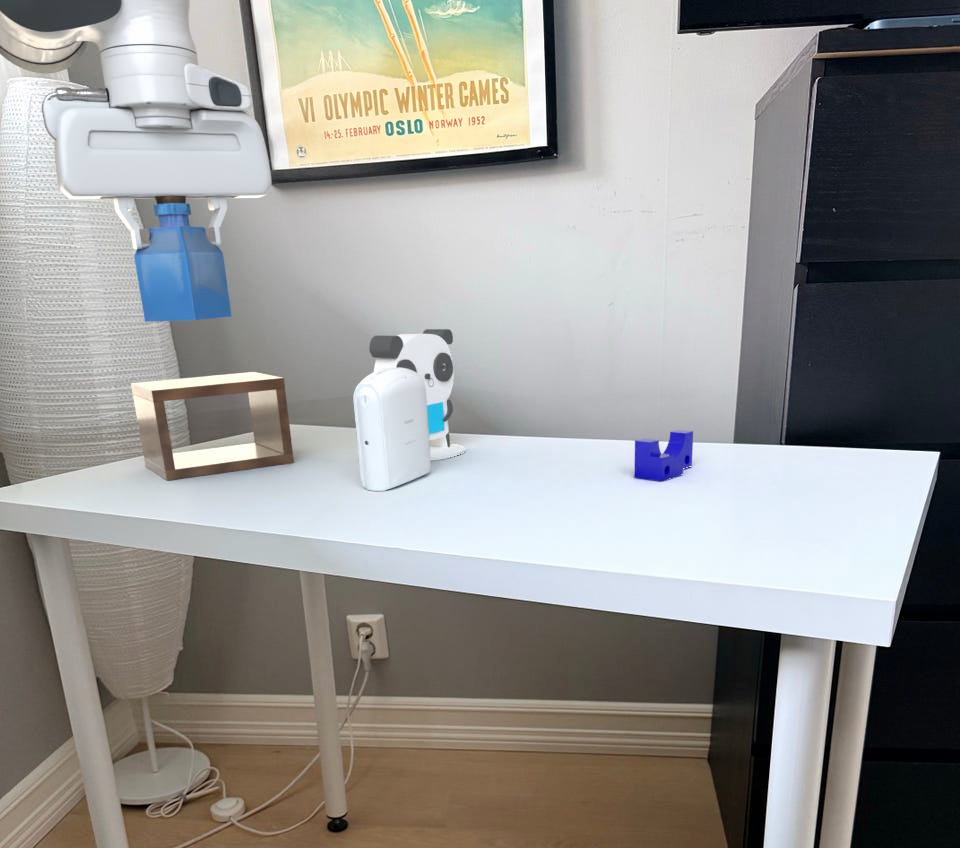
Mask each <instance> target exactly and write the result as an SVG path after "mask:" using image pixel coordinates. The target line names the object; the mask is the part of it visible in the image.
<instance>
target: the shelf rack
mask: <svg viewBox="0 0 960 848" xmlns="http://www.w3.org/2000/svg"><path fill="white" fill-rule="evenodd" d="M130 387H131V394H132V398H133V403H134V404H133V405H134V410H135V414H136V415H135V416H136V421H137V426H138V432H139V437H140V443H141V449H142V454H143V460H144V466H145V468H148V469H149V470H150V471H152V472H154V473H155V474H156V475H158V476H159V477H161V478H162V479H163V480H165V481H167V482H168V481H177V480H182V479H188V478H189V479H190V478H197V477H204V476H209V475H217V474H224V473H225V474H226V473H232V472H238V471H239V472H240V471H246V470H253V469H260V468H266V467H273V466H279V465H288V464H294V463H295V460H294V451H293V443H292V435H291V434H292V433H291V426H290V425H291V424H290V419H289V410H288V408H289V407H288V401H287V392H286V384H285V377H281V376H278V375H277V376H276V375H273V374H272V375H271V374H266V373H261V372H256V371H248V372H238V373H227V374H216V375H215V374H214V375H205V376H196V377H195V376H194V377H184V378H183V377H182V378H173V379H172V378H171V379H163V380H162V379H161V380H153V381H142V382H140V381H139V382H131V383H130ZM246 393H247V395H248V401H249V403H248V404H249V409H250V410H249V411H250V416H251V417H250V418H251V425H252V432H253V439H254V442H251V443H250V442H249V443H244V444H236V445H228V446H220V447H211V448H204V449H197V450H196V449H195V450H188V451H181V452H173V446H172V441H171V436H170V430H169V424H168V418H167V411H166V406H165V402H168V401H178V400H180V401H181V400H189V399H199V398H207V397H209V398H210V397H219V396H228V395H237V394H246Z"/></svg>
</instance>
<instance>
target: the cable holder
mask: <svg viewBox="0 0 960 848" xmlns="http://www.w3.org/2000/svg"><path fill="white" fill-rule="evenodd" d="M668 438H669V439H668V443H667V446H666V448H665V449H664V451H663V453H662V452H661V448H660V440H659V439H651V438H641V439H637V440H634V479H638V480H639V479H640V480H646V481H647V480H648V481H654V482H661V481H662V482H664V480H665V481H668V480H670V479H669V478H671V479H674V478H673V477H675V478H677V477H676V476H678V477H680V476H679V475H681V474H683V475H684V470H683V468H686V467H689V466H692V467H693V447H694V431H693V430H683V429H676V430H672V431H670V432H669V437H668ZM681 476H682V475H681ZM667 479H668V480H667Z"/></svg>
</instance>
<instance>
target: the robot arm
mask: <svg viewBox="0 0 960 848" xmlns="http://www.w3.org/2000/svg"><path fill="white" fill-rule="evenodd" d="M190 9H191V0H0V55H1V56H2V57H3V58H4V59H5V60H7V61H8V62H10V63H11V64H13V65H14V66H16V67H19V68H20V69H22V70H25V71H28V72H31V73H36V74H55V73H56V74H57V73H60V72H62V71H66V70H67V69H69V68H70V67H73V65H74V64H76V63H77V62H78V61H79V60H80V58H81V57H82V56H83V54H84V52H85V50H86V48H87V45H88V42H92V43H93V44H95V45H96V46H97V49H98V52H99V58H100V59H99V60H100V65H101V71H102V76H103V81H104V88H95V87H94V88H72V87H66V86H60V87H56V88H55V91H52V92H50V93H48V94H47V95H46V96H45V97H44V98H43V100H42V103H41V113H42V114H41V115H42V119H43V123H44V124H43V125H44V127H45V130H46V132H47V135H48V136H49V137H50V138H51V139H52V140H53V141H54V142H53V143H54V145H53V147H54V148H53V149H54V163H55V172H56V180H57V186H58V189H59V190H60V192H62V194H63V195H64V196H66V197H67V198H68V199H69V200H113V206H114V212H115V213H116V215H117V216H118V217H119V219H120V220H121V222H122V223H123V224H124V226H125V228H127V229H128V230H129V231H130V235H131V236H130V237H131V241H132V247H133V250H137V249H146V248H149V247H150V246H151V245H152V244H151V241H150V239H149V238H150V232H149V229H147V228H141V227H140V226H139V224H138V223H137V221H136V220H135V218H134V217H133V216H132V214H131V212H130V211H133V210H134V202H133V200H135V199H136V200H137V199H139V200H140V199H141V200H142V199H155V196H186V199H206V200H207V201H206V202H207V208H208V211H213V214H212V217H211V219H210V222H209V224H208V227H204V231H205V235H206V236H207V239H208V240H209V241H210V242H211V243H212V244H213V245H215V246H218V247H219V248H220V247H221V246H222V239H221V231H220V228H221V226H222V224H223V221H224V219H225V218H226V217H225V216H226V214H227V211H228V210H229V209H228V201H227V199H257V198H262V197H264V196H266V195H267V194H268V193H269V191H270V189H271V187H272V173H271V172H272V171H271V166H270V160H269V156H268V155H269V154H268V150H267V145H266V142H265V137H264V135H263V131H262V128H261V126H260V124H259V123H258V121H257V120H256V119H255V117H253V116H252V115H251V114H250V113H247V112H249V111H250V110H251V109H252V106H253V96H252V91H251V89H250V87H248V86H247V85H246V84H243V83H241V82H239V81H236V80H234V79H231V78H229V77H227V76H223V75H221V74H218V73H216V72H213V71H212V70H209V69H207V68H205V67H202V66H200V64H199V59H198V53H197V48H196V45H195V43H194V41H193V38H192V37H193V36H192V35H191V30H190V24H189V23H190V21H189V19H190V17H189V16H190ZM54 98H56V100H55V99H54ZM53 99H54V100H53Z"/></svg>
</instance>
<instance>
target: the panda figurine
mask: <svg viewBox="0 0 960 848" xmlns="http://www.w3.org/2000/svg"><path fill="white" fill-rule="evenodd" d="M453 341H454V334H453V332H452V330H451V329H448V328H427V329H424V330H423V332H422V333H399V334H396V335H374V336H373V337H372V338H371V339H370V341H369V348H368V349H369V353H370V356H371V357H372V358H375V363H374V367H373V372H375V371H377V370H379V369H382V368H388V367H395V368H407V369H410V370H412V371H414V372H416V373H418V374H419V375H420V376H421V378H422V379H423V381H424V384H425V388H426V399H427V413H428V427H429V442H430V458H431V461H439V460H440V461H441V460H447V459H450V457H451V458H455V457H458V456H457V455H459V456H461V455H463V454H465V453H466V447H465V446H464V445H462V444H457V443H451V438H450V431H449V419H450V418H451V416H452V414H453V409H454V408H453V403H452V400H451V399H449V397H450V395H451V393H452V390H453V386H454V381H455V368H454V361H453V358H452V357H453V356H452V354H451V350H450V347H449V345H452V344H453ZM464 452H465V453H464ZM460 454H461V455H460ZM454 456H455V457H454Z"/></svg>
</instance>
